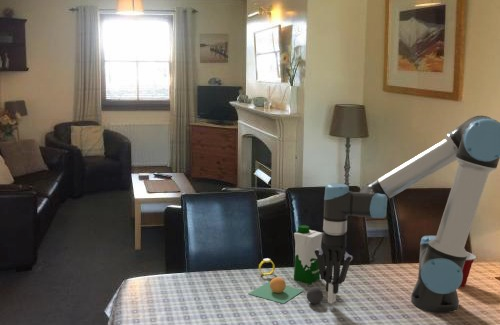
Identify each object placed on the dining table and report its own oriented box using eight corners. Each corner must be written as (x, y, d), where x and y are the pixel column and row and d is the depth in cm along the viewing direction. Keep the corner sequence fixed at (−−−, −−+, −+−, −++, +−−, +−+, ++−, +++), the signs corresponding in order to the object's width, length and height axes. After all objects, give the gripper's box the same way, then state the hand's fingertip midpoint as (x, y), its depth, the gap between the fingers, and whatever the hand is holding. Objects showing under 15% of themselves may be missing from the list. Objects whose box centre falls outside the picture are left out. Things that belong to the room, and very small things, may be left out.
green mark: (303, 290, 198) (303, 290, 198) (283, 303, 186) (283, 303, 186) (269, 281, 205) (269, 281, 205) (248, 294, 194) (248, 293, 194)
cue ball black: (312, 282, 189) (309, 296, 191) (305, 288, 185) (302, 303, 186) (327, 287, 187) (324, 302, 189) (320, 294, 182) (317, 309, 184)
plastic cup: (478, 290, 201) (480, 258, 199) (447, 289, 201) (450, 257, 199) (467, 279, 212) (469, 248, 210) (438, 278, 212) (440, 247, 210)
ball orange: (273, 275, 199) (276, 290, 199) (265, 280, 194) (268, 295, 194) (286, 274, 196) (290, 290, 196) (278, 279, 191) (282, 295, 191)
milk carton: (302, 273, 214) (304, 222, 211) (323, 279, 209) (325, 227, 206) (290, 280, 207) (291, 227, 204) (311, 286, 202) (313, 232, 199)
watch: (260, 277, 211) (259, 261, 210) (258, 274, 213) (257, 259, 212) (275, 274, 212) (275, 259, 211) (273, 272, 215) (272, 257, 214)
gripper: (358, 232, 180) (354, 302, 184) (321, 226, 187) (318, 293, 191) (348, 238, 174) (345, 310, 177) (311, 231, 181) (308, 300, 184)
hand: (331, 301), depth 184 cm, fingers closed
